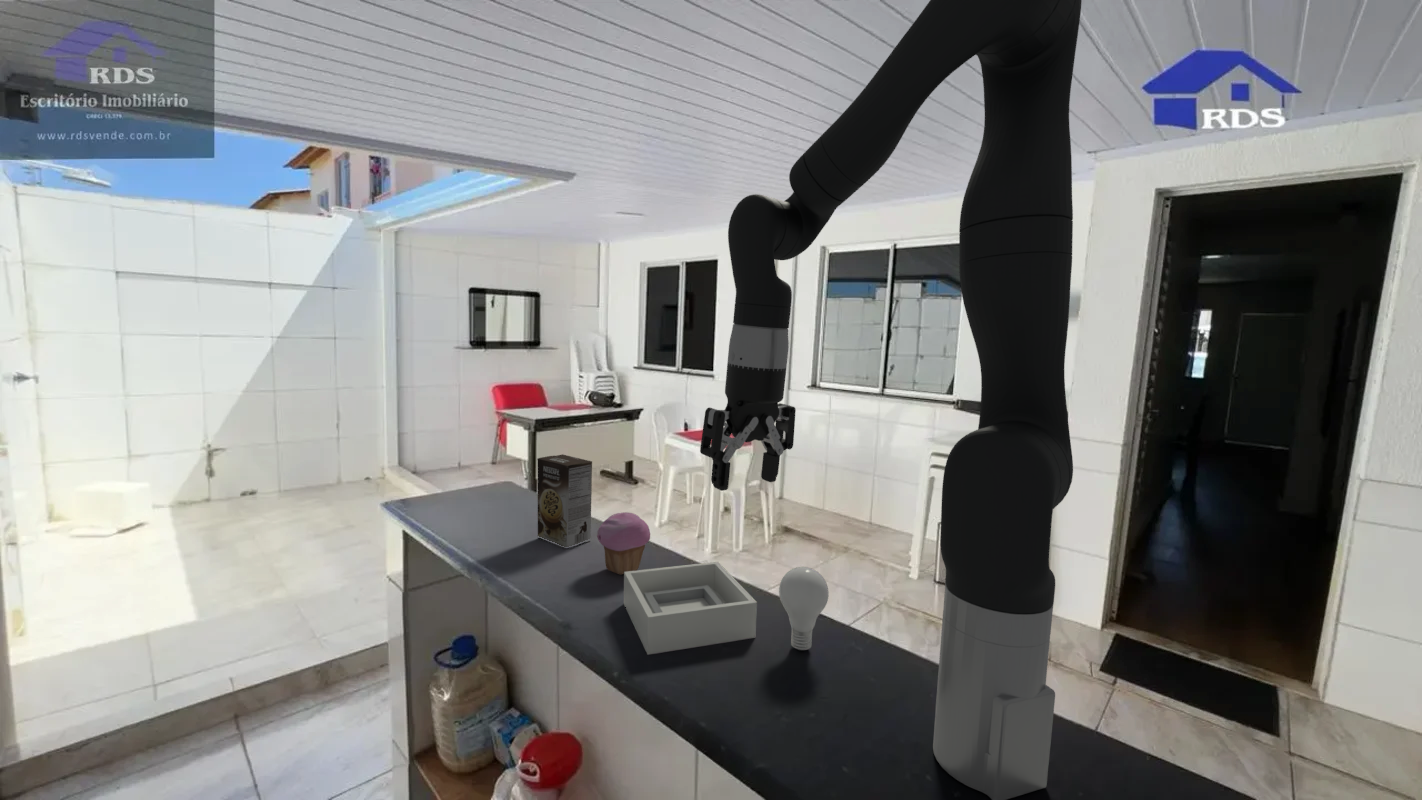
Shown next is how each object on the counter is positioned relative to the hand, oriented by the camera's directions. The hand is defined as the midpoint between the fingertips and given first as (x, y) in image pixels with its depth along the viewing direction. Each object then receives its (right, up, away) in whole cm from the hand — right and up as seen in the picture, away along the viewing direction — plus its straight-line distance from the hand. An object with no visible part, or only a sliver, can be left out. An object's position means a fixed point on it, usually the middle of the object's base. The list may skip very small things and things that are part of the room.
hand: (745, 484), depth 78 cm
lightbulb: (+7, -22, 0) cm, 23 cm away
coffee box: (-33, -16, +38) cm, 53 cm away
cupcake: (-20, -18, +24) cm, 36 cm away
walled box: (-8, -20, +7) cm, 23 cm away
